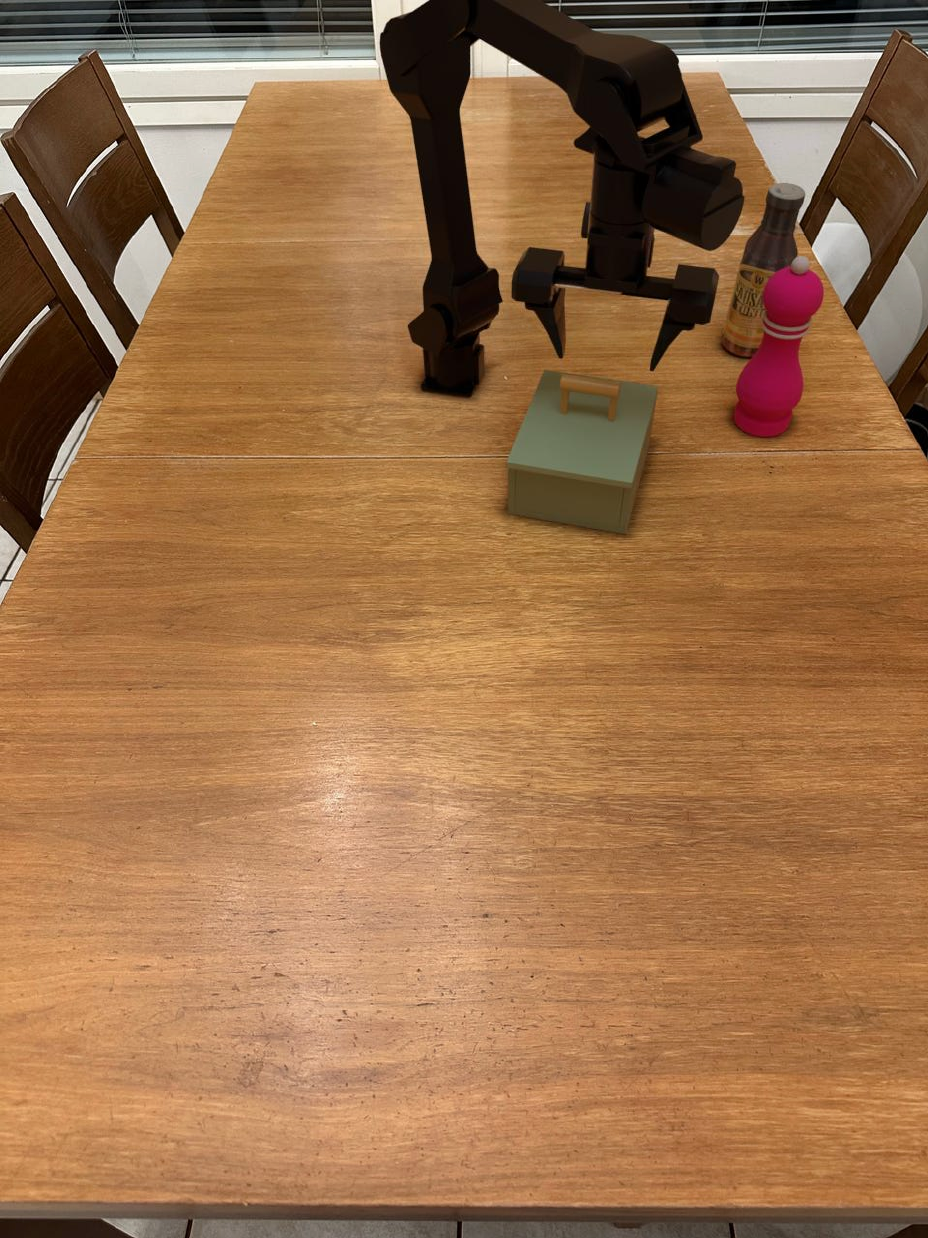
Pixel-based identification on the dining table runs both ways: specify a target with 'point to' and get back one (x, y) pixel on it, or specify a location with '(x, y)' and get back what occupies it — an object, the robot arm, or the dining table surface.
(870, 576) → the dining table surface
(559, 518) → the green box
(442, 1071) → the dining table surface
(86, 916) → the dining table surface
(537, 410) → the lid
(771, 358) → the pepper mill
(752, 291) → the sauce bottle
